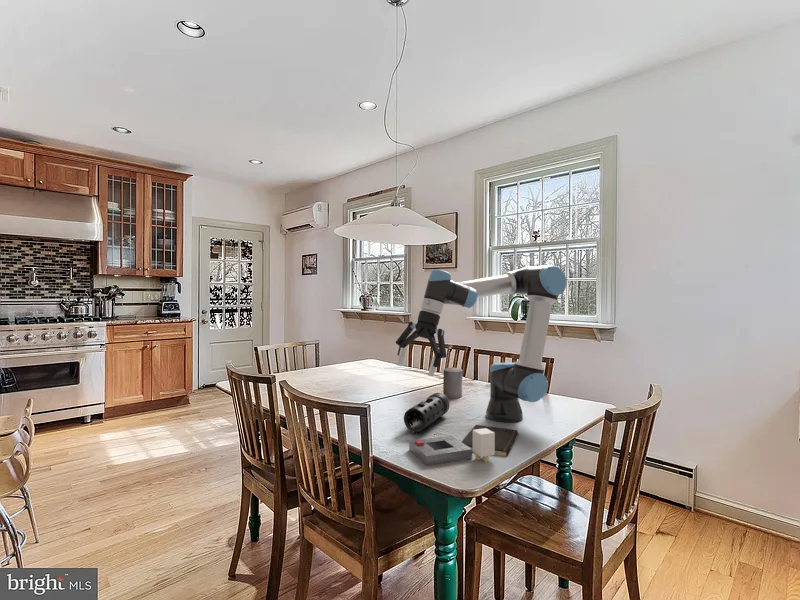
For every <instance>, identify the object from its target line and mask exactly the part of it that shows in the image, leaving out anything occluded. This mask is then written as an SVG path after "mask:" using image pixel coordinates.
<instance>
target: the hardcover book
mask: <svg viewBox="0 0 800 600" xmlns="http://www.w3.org/2000/svg"><path fill="white" fill-rule="evenodd" d="M483 428H487V429H489V430H491V431H492V432H494V433H495V455H497V456H503V457H507V456H509V454H510V451H511V450H512V448H513V445H514V443H515V442H516V440H515V439H517V438H516V437H518V436H517V435H519V431H518V429H513V428H506V427H505V428H504V427H498V426H497V427H496V426H487V425H480V424H475V425H474V426H473V428H472V429H470V431H469V432H468V434H467V435H466V436H465V437H464V438H463V439H462V440H461V442H462V443H464V444H465V445H467V446H468V447H470V448H471V449H472V452H473V430H475V429H483Z"/></svg>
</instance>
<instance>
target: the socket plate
mask: <svg viewBox="0 0 800 600" xmlns="http://www.w3.org/2000/svg"><path fill="white" fill-rule="evenodd" d="M408 447H409V448H408V450H409V451H410V453H412V454H413V455H414V456H415V457H416V458H417V459H419V461H421V462H422V464H424V465H425V466H426V467H427V466H428V467H429V466H434V465H440V464H447V463H451V462H459V461H463V460H464V461H465V460H469V459H473V451H472V449H471V448H470V447H468V446H467V445H465V444H464V443H462V440H461V441H460V440H459V439H458V438H456V437H455V436H453V435H444V436H438V437H431V438H424V439H423V438H422V439H415V440H409V442H408Z"/></svg>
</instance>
